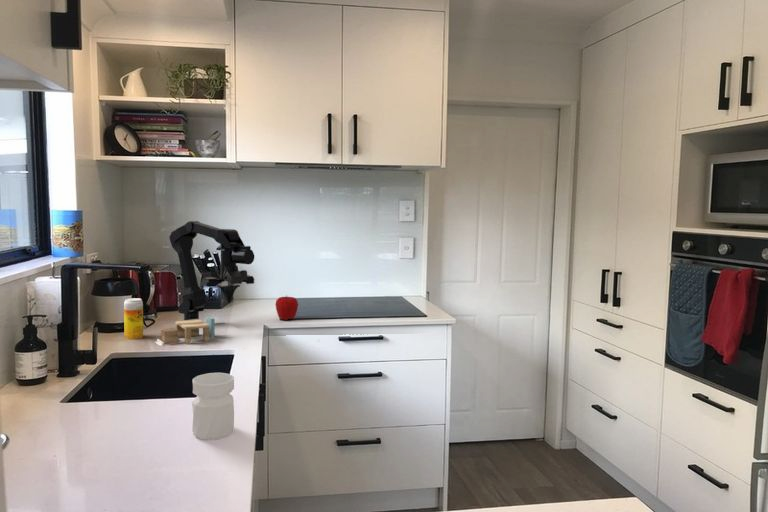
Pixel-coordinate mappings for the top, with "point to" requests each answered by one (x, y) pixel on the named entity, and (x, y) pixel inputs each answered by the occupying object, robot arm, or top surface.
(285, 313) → the apple
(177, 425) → the top surface
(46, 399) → the top surface
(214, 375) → the pill bottle
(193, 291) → the robot arm
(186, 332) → the tunnel
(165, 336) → the block
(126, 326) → the beer can
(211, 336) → the sled
